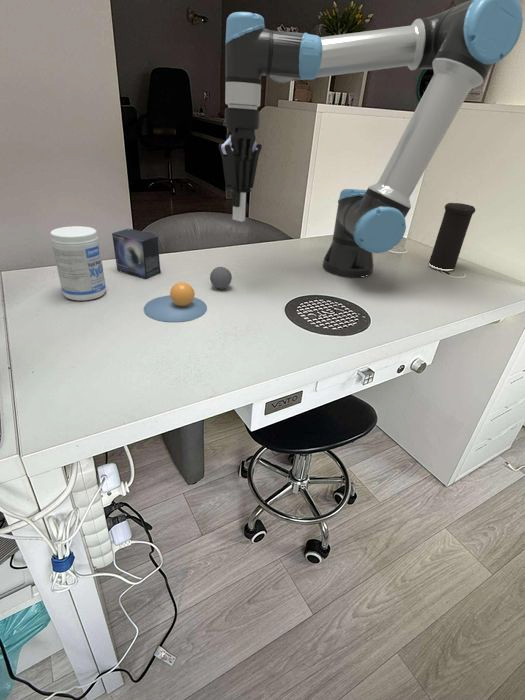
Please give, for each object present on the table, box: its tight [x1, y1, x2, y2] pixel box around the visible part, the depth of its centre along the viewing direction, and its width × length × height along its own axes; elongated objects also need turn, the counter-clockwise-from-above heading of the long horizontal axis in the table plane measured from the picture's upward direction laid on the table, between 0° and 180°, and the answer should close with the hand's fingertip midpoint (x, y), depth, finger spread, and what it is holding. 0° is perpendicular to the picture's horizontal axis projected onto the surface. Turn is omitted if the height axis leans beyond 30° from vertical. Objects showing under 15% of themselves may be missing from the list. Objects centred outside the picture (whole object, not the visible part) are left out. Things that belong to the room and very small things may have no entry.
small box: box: [111, 228, 162, 280], centre depth 104 cm, size 11×6×10 cm, turn 62°
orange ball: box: [169, 281, 196, 307], centre depth 89 cm, size 6×6×6 cm
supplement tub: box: [50, 225, 107, 301], centre depth 88 cm, size 10×10×15 cm
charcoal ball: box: [209, 266, 233, 290], centre depth 99 cm, size 6×6×6 cm
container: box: [428, 202, 476, 270], centre depth 122 cm, size 9×9×20 cm
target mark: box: [143, 294, 208, 323], centre depth 89 cm, size 14×14×1 cm
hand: (238, 220), depth 96 cm, fingers closed
